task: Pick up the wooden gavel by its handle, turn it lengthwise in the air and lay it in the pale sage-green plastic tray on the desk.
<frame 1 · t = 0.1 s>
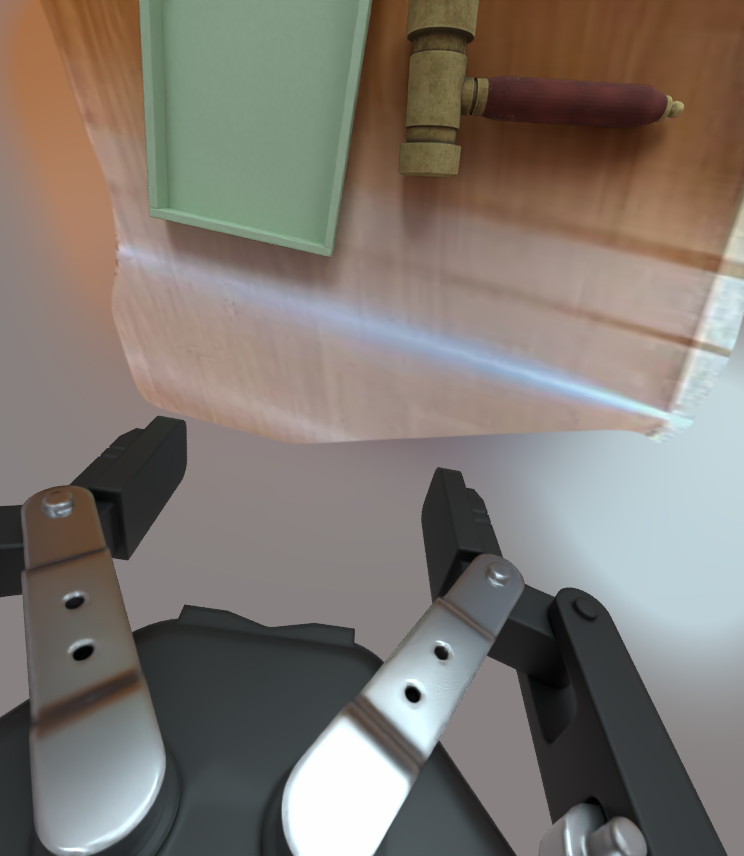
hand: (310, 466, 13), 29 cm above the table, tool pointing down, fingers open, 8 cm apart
gavel: (536, 106, 32), on the table
tray: (261, 39, 30), on the table
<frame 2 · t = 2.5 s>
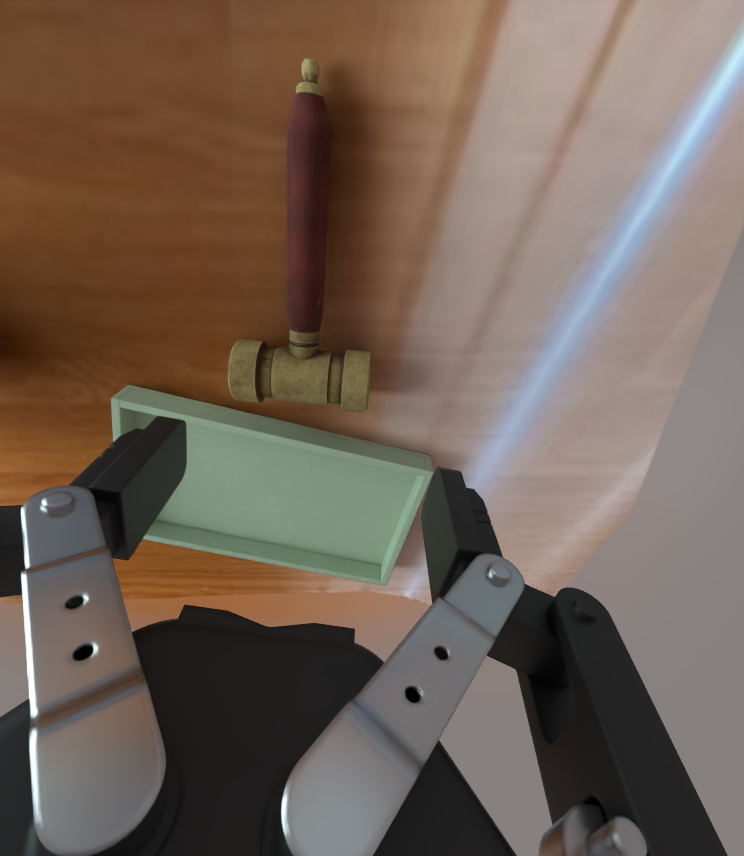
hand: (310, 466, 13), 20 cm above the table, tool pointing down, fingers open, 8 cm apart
gavel: (310, 255, 29), on the table
tray: (273, 487, 40), on the table
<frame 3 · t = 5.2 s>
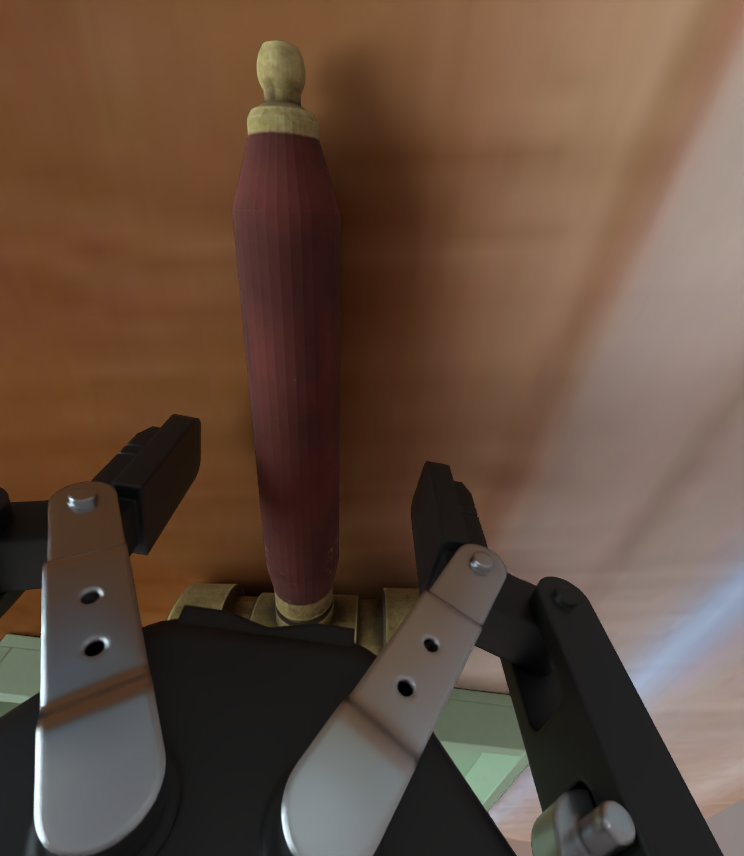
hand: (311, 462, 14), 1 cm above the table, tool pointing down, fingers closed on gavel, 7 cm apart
gavel: (307, 441, 15), on the table, touching gripper
tray: (268, 737, 25), on the table
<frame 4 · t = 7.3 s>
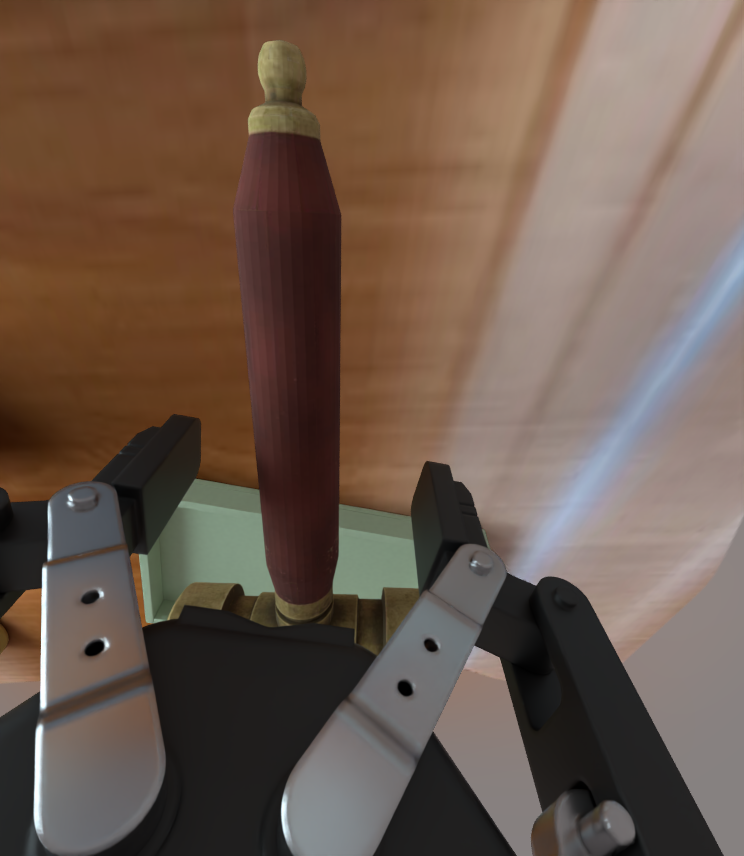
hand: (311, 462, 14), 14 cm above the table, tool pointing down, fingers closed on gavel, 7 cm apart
gavel: (307, 440, 15), point 13 cm above the table, touching gripper
tray: (310, 565, 36), on the table
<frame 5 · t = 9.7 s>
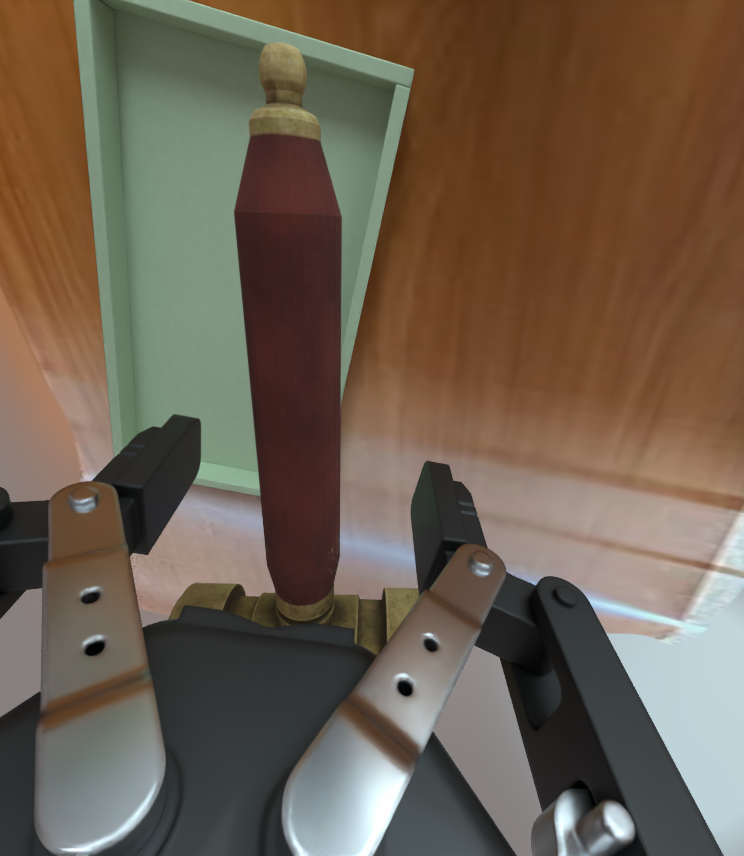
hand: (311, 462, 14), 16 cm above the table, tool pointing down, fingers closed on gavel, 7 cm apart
gavel: (308, 441, 15), point 14 cm above the table, touching gripper
tray: (242, 304, 27), on the table
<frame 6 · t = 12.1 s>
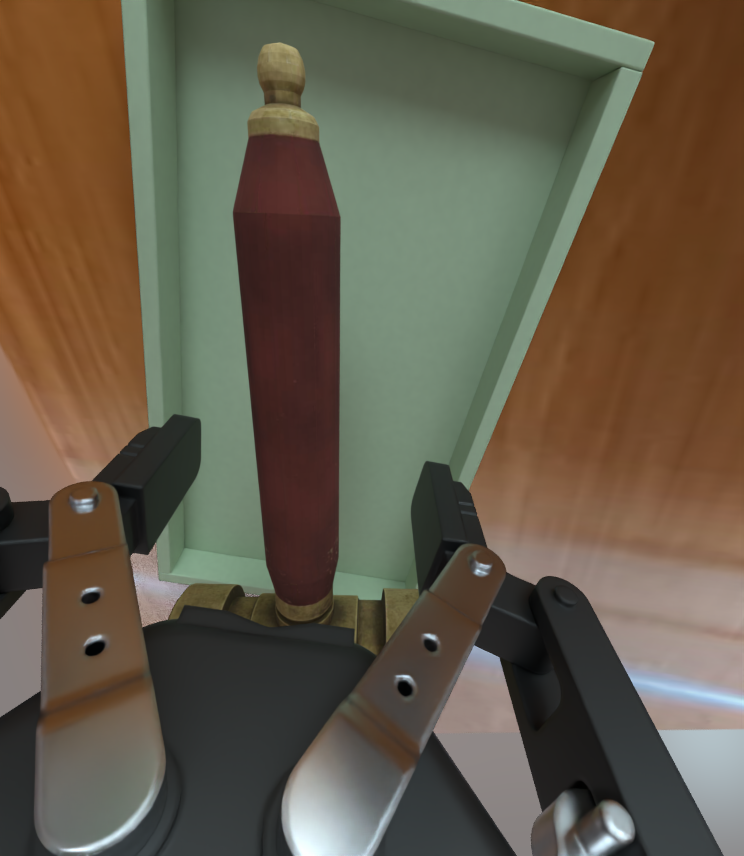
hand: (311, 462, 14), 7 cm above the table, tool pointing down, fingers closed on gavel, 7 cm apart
gavel: (307, 441, 15), point 6 cm above the table, touching gripper
tray: (331, 375, 20), on the table
when the fingers open (2 cm above the table, at t = 14.1 s): gavel stays where it is, resting on tray.
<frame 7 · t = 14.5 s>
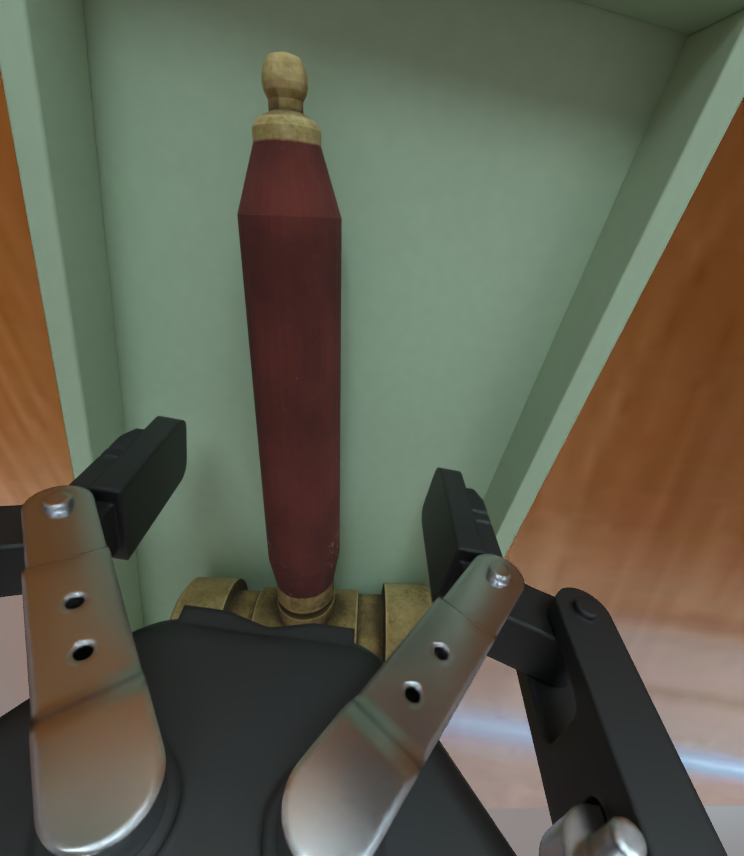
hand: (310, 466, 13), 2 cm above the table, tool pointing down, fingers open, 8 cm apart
gavel: (309, 438, 15), resting on tray
tray: (318, 430, 16), on the table
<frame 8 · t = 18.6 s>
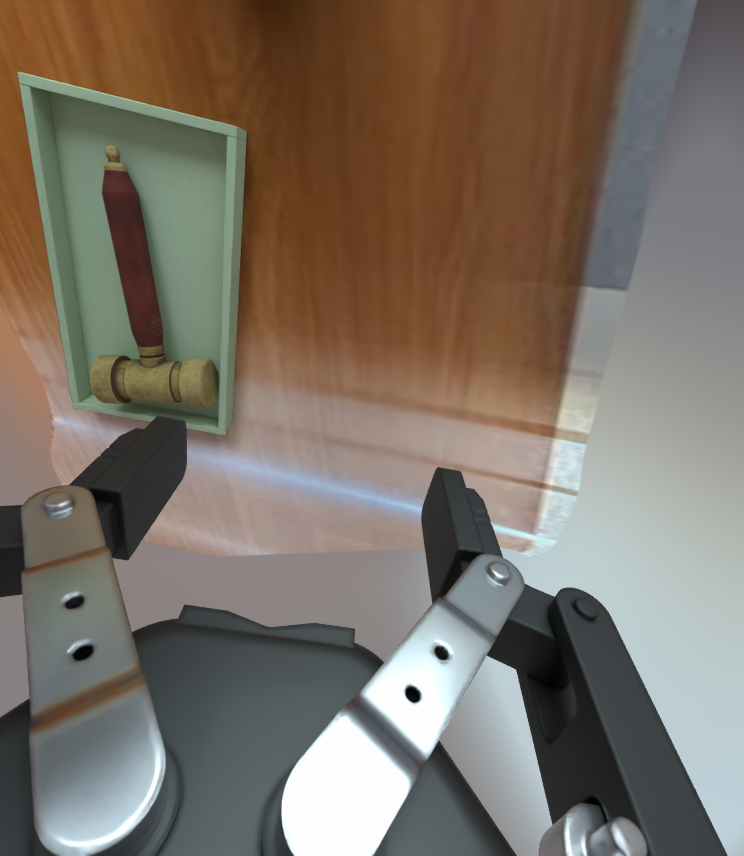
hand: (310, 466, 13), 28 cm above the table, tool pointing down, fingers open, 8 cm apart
gavel: (150, 286, 37), resting on tray
tray: (155, 284, 38), on the table
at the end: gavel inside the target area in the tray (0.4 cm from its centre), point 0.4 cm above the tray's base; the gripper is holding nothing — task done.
